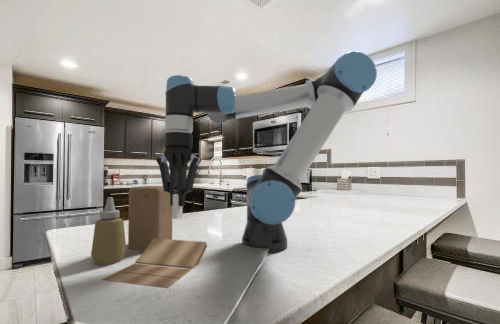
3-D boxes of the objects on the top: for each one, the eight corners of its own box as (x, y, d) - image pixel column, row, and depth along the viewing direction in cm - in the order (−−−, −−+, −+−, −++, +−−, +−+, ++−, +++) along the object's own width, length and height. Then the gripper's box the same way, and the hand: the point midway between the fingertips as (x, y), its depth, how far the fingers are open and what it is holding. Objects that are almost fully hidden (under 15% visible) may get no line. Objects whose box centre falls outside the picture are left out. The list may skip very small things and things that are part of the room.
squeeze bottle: (100, 261, 71) (101, 196, 72) (130, 260, 72) (131, 195, 73) (84, 272, 63) (85, 199, 64) (118, 271, 64) (119, 198, 65)
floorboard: (191, 275, 61) (191, 269, 61) (167, 295, 51) (167, 287, 51) (133, 269, 65) (133, 263, 65) (101, 286, 55) (101, 279, 55)
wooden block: (156, 255, 76) (157, 187, 76) (126, 253, 78) (127, 187, 78) (173, 246, 85) (173, 185, 86) (146, 244, 87) (146, 185, 88)
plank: (207, 246, 70) (205, 242, 69) (193, 273, 62) (192, 268, 62) (155, 242, 74) (154, 238, 73) (136, 267, 66) (134, 262, 66)
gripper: (206, 134, 74) (204, 216, 73) (166, 135, 77) (164, 214, 77) (194, 130, 67) (192, 221, 66) (150, 131, 70) (148, 218, 69)
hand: (177, 217), depth 71 cm, fingers closed
